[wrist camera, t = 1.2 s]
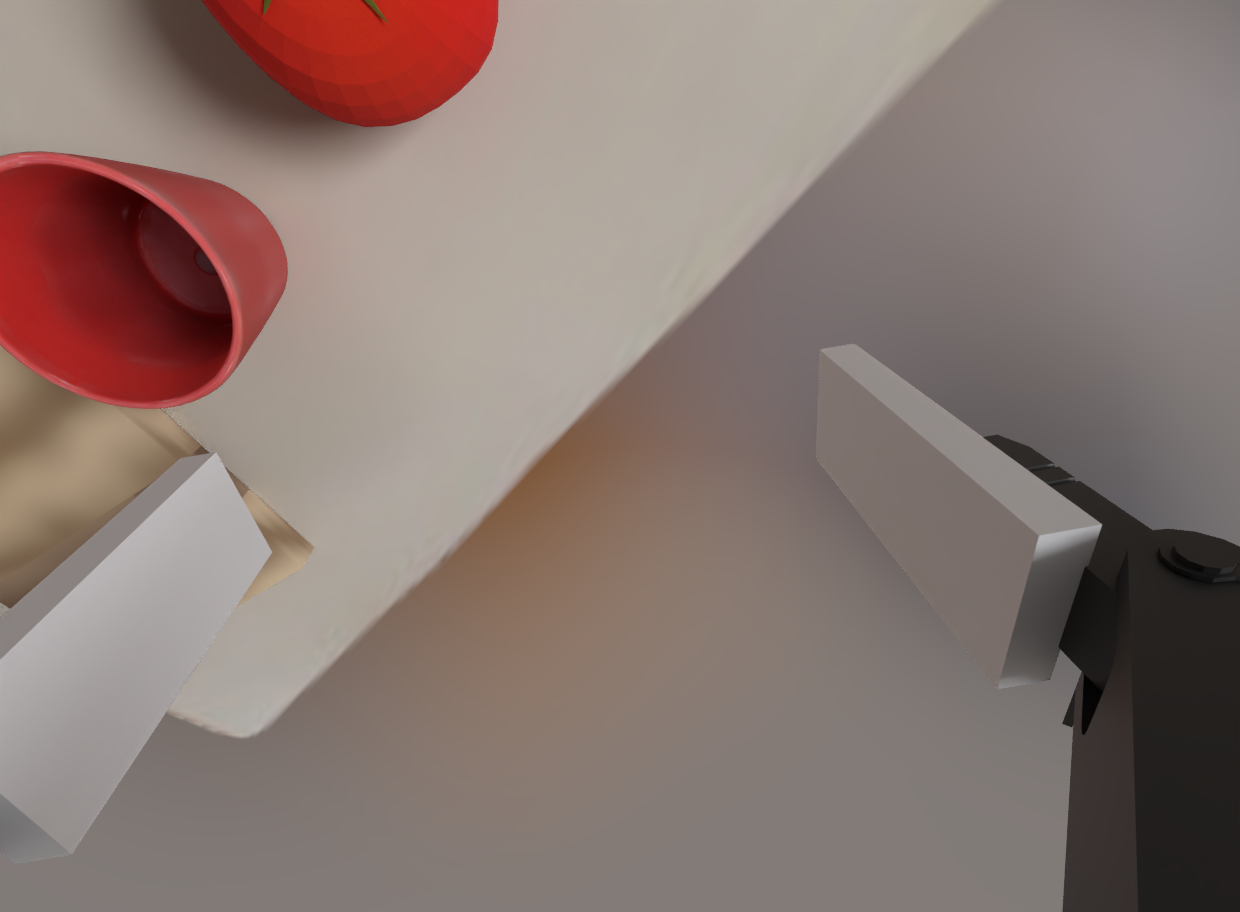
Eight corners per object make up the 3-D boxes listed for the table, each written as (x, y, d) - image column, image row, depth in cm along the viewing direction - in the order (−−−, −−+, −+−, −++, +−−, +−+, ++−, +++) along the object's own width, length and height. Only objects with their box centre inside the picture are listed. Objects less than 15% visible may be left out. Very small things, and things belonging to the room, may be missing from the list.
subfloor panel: (-216, 416, 35) (-265, 434, 33) (-12, 254, 32) (-51, 263, 30) (136, 651, 46) (116, 675, 44) (314, 547, 43) (301, 568, 41)
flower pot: (248, 381, 37) (155, 455, 28) (65, 243, 32) (-112, 282, 24) (357, 264, 34) (291, 308, 26) (174, 96, 29) (19, 80, 21)
